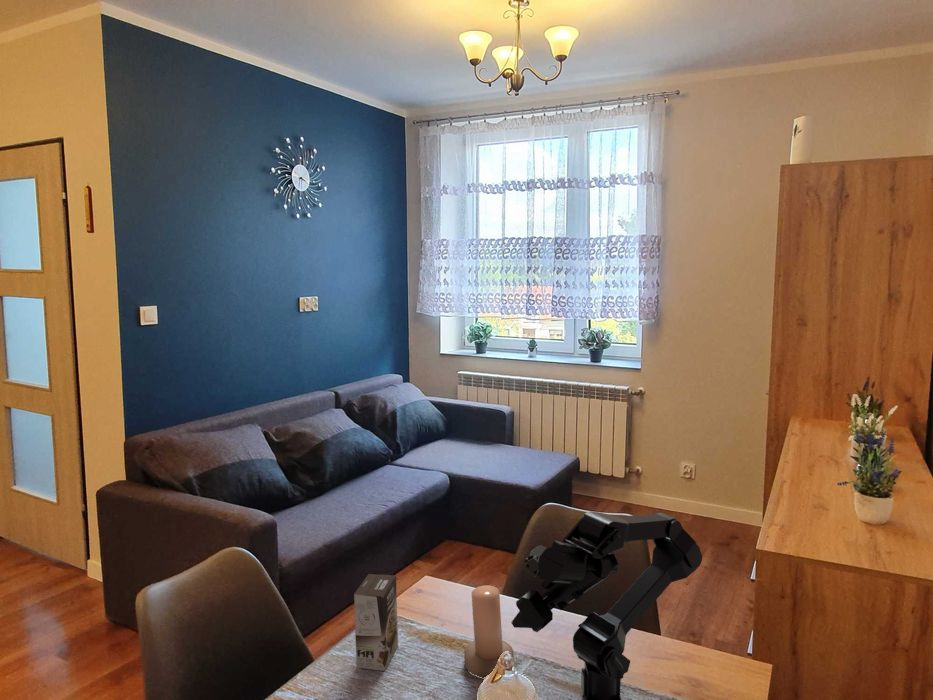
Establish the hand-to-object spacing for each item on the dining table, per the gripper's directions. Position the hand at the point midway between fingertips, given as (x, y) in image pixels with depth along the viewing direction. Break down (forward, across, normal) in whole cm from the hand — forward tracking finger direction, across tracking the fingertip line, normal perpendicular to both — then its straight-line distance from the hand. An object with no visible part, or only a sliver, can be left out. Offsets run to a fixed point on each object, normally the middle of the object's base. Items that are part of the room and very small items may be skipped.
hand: (525, 614), depth 127 cm
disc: (+16, 0, +4) cm, 16 cm away
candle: (+14, 0, +2) cm, 14 cm away
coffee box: (+30, +11, -10) cm, 34 cm away
